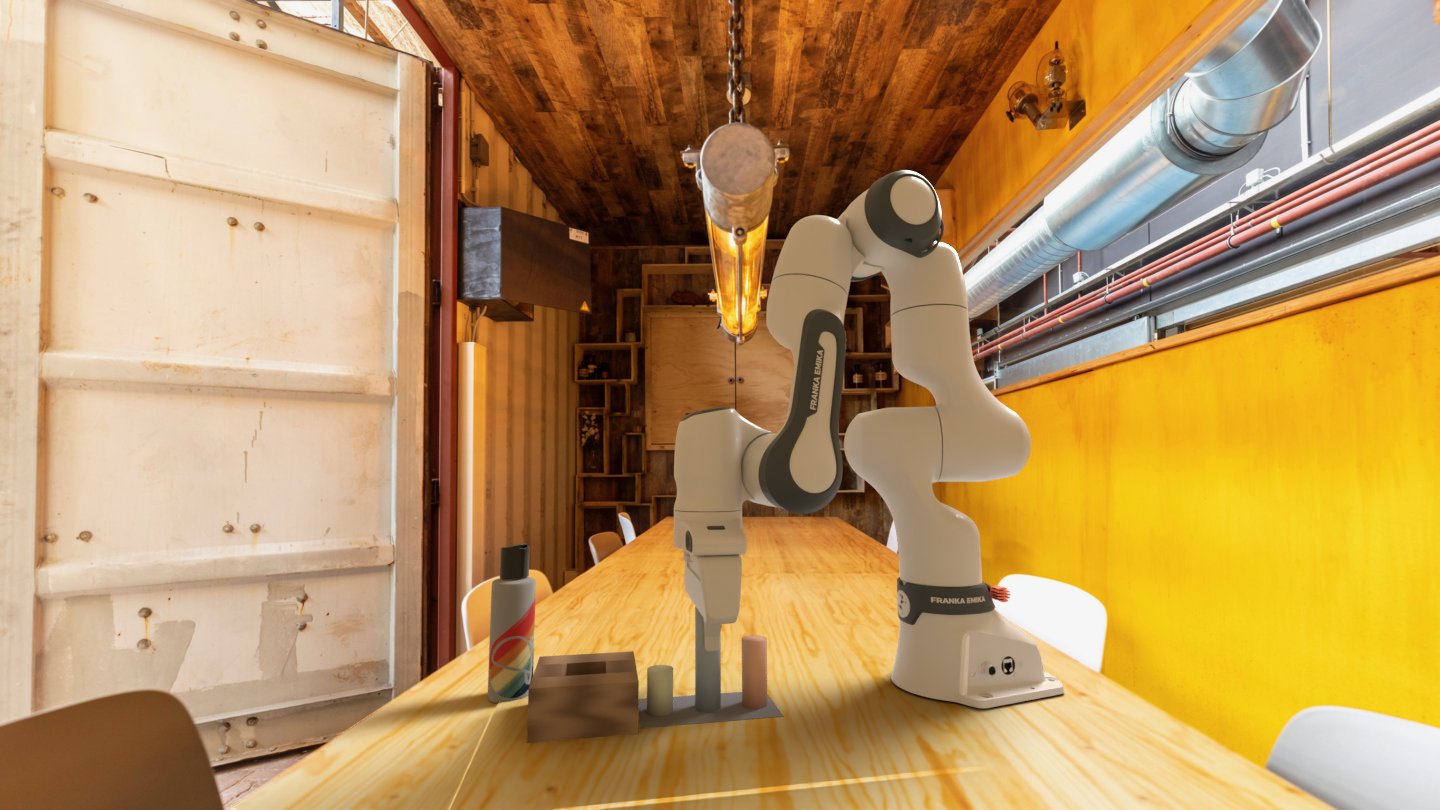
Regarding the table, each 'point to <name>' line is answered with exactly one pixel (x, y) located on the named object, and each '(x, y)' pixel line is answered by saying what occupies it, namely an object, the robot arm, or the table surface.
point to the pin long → (706, 671)
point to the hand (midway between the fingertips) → (708, 644)
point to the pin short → (660, 690)
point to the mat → (689, 715)
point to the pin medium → (754, 671)
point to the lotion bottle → (512, 627)
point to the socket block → (583, 697)
